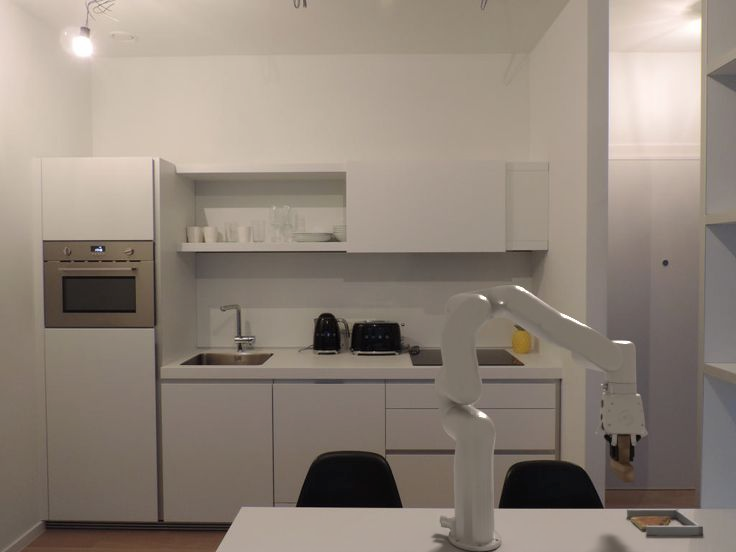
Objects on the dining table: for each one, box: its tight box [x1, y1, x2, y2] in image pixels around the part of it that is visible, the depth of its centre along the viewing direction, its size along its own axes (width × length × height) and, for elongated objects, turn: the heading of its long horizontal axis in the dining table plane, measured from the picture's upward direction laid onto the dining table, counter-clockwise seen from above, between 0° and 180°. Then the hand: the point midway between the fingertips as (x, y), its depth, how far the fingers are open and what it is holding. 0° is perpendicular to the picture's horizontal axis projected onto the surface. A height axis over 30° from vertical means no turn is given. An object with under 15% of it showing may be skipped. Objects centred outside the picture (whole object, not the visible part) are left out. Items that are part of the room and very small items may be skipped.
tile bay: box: [626, 508, 704, 536], centre depth 142 cm, size 14×12×2 cm
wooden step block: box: [609, 434, 634, 483], centre depth 143 cm, size 3×8×11 cm, turn 178°
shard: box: [630, 516, 672, 531], centre depth 142 cm, size 11×8×2 cm
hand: (622, 459), depth 143 cm, fingers closed on wooden step block, 3 cm apart
